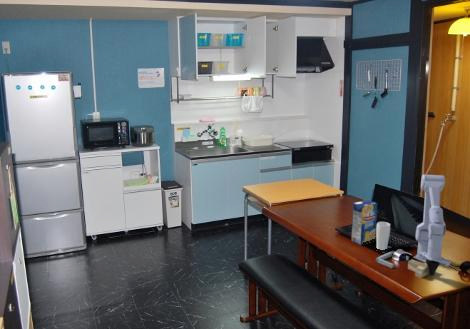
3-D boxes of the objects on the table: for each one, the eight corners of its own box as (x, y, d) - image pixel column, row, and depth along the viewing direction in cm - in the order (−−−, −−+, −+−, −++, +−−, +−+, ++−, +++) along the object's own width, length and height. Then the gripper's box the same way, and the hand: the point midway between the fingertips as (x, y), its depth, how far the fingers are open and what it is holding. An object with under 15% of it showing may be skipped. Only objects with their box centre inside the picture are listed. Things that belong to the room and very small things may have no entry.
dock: (392, 253, 232) (392, 250, 231) (408, 260, 225) (408, 256, 224) (375, 261, 223) (375, 258, 223) (391, 268, 216) (392, 264, 216)
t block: (415, 264, 220) (416, 257, 219) (432, 271, 213) (433, 263, 212) (403, 270, 214) (404, 263, 213) (421, 277, 207) (421, 270, 206)
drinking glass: (385, 247, 239) (387, 221, 235) (390, 253, 232) (392, 226, 229) (373, 248, 239) (374, 221, 235) (377, 253, 232) (379, 226, 229)
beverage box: (351, 240, 248) (353, 203, 243) (365, 236, 254) (368, 199, 248) (360, 245, 243) (362, 206, 237) (374, 240, 248) (377, 203, 243)
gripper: (415, 244, 208) (412, 271, 211) (445, 255, 196) (442, 283, 200) (423, 240, 212) (421, 267, 215) (453, 251, 201) (450, 278, 204)
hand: (431, 274), depth 208 cm, fingers closed
